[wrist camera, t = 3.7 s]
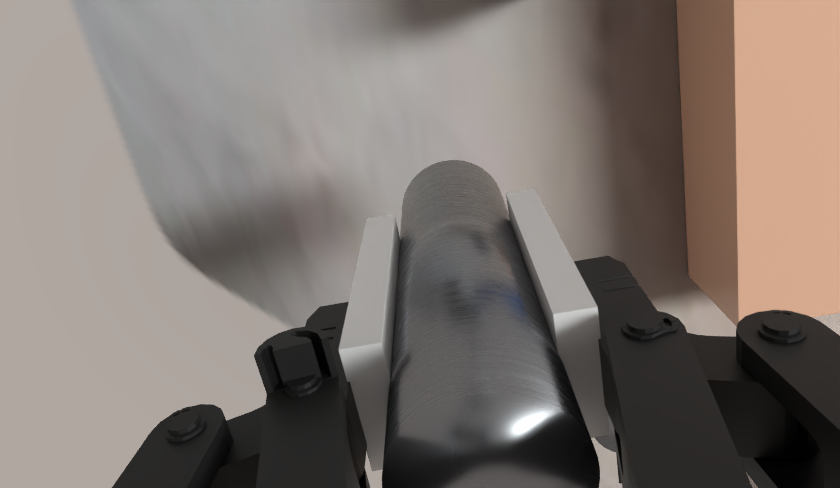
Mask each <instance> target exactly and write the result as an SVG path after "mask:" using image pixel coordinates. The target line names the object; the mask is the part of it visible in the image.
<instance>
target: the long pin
mask: <svg viewBox="0 0 840 488" xmlns="http://www.w3.org/2000/svg"><path fill="white" fill-rule="evenodd" d="M599 481H600V467H599V462H598V457H597V454H596V451H595V448H594V446H593V443H592V440H591V437H590V435H589V432H588V429H587V426H586V424H585V421H584V418H583V416H582V413H581V410H580V407H579V405H578V402H577V399H576V396H575V394H574V391H573V388H572V386H571V383H570V380H569V377H568V375H567V372H566V369H565V367H564V364H563V361H562V360H561V358H560V356H559V354H558V352H557V349H556V346H555V344H554V341H553V338H552V335H551V333H550V330H549V327H548V324H547V322H546V319H545V316H544V313H543V311H542V308H541V305H540V302H539V300H538V297H537V294H536V291H535V288H534V286H533V283H532V280H531V277H530V275H529V272H528V269H527V266H526V264H525V261H524V258H523V255H522V253H521V250H520V247H519V244H518V242H517V239H516V236H515V233H514V231H513V228H512V225H511V222H510V218H509V214H508V211H507V208H506V205H505V203H504V200H503V197H502V195H501V192H500V189H499V187H498V185H497V183H496V182H495V180H494V179H493V178H492V177H491V176H490V175H489V174H488V173H487V172H486V171H485V170H483V169H482V168H480V167H478V166H477V165H474V164H472V163H469V162H465V161H459V160H449V161H442V162H438V163H436V164H433V165H431V166H429V167H427V168H425V169H424V170H422V171H421V172H420V173H419V174H418V175H417V176H416V177H415V178H414V179H413V180H412V181H411V183H410V184H409V186H408V188H407V190H406V192H405V195H404V199H403V206H402V219H401V232H400V251H399V265H398V278H397V292H396V306H395V319H394V333H393V347H392V360H391V374H390V384H389V392H388V405H387V418H386V432H385V445H384V458H383V472H382V488H599Z"/></svg>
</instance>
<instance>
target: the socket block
mask: <svg viewBox="0 0 840 488" xmlns="http://www.w3.org/2000/svg"><path fill="white" fill-rule="evenodd" d="M676 5H677V28H678V50H679V72H680V94H681V117H682V139H683V161H684V183H685V206H686V228H687V250H688V272H689V277H690V278H691V279H692V280H693V281H694V282H695V283H696V284H697V285H698V286H699V287H700V288H701V289H702V290H703V292H704V293H705V294H706V295H707V296H708V297H709V298H710V299H711V300H712V301H713V302H714V303H715V304H716V305H717V306H718V307H719V309H720V310H721V311H722V312H723V313H724V314H725V315H726V316H727V317H728V318H729V319H730V320H731V321H732V322H733V323H734V324H735V326H736V327H737V324H738V322H739V321H740V320H742V319H743V318H744V317H745V316H747V315H750V314H753V313H756V312H761V311H770V310H780V311H783V310H787V311H793V312H796V313H800V314H804V315H808V316H810V317H816V316H822V315H828V314H834V313H840V0H676Z"/></svg>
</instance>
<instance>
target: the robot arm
mask: <svg viewBox="0 0 840 488" xmlns="http://www.w3.org/2000/svg"><path fill="white" fill-rule="evenodd" d="M506 197H507V204H508V211H509V218H510V222H511V225H512V228H513V231H514V233H515V236H516V239H517V242H518V244H519V247H520V250H521V253H522V255H523V258H524V261H525V264H526V266H527V269H528V272H529V275H530V277H531V280H532V283H533V286H534V288H535V291H536V294H537V297H538V300H539V302H540V305H541V308H542V311H543V313H544V316H545V319H546V322H547V324H548V327H549V330H550V333H551V335H552V338H553V341H554V344H555V346H556V349H557V352H558V354H559V356H560V358H561V360H562V361H563V364H564V367H565V369H566V372H567V375H568V377H569V380H570V383H571V386H572V388H573V391H574V394H575V396H576V399H577V402H578V405H579V407H580V410H581V413H582V416H583V418H584V421H585V424H586V426H587V429H588V432H589V435H590V437H591V438H593V437H600V436H606V435H610V429H609V419H608V414H609V417H610V419H611V421H612V424H613V426H614V433H615V443H616V454H617V465H618V476H619V483H622V486H623V488H752V486H751V484H750V481H749V479H748V476H747V474H748V475H749V476H750V477H751V479H752V480H753V481H754V483H755V484H756V485H757V486H758V488H840V336H839V335H838V334H836V333H835V332H834V331H832V330H831V329H830V328H828V327H827V326H825V325H824V324H823V323H821V322H820V321H818V320H816V319H814V318H812V317H810V316H808V315H804V314H800V313H796V312H793V311H787V310H783V311H780V310H770V311H761V312H756V313H753V314H750V315H747V316H745V317H744V318H743V319H742V320H740V321H739V322H738V324H737V329H736V337H725V336H703V335H695V334H690V333H687V331H686V329H685V326H684V325H683V324H682V323H681V321H680V320H679V319H678V318H676V317H674V316H672V315H670V314H668V313H664V312H659V311H657V310H656V308H655V307H654V306H653V304H652V303H651V301H650V300H649V299H648V297H647V296H646V294H645V293H644V291H643V290H642V289H641V287H640V286H638V283H637V281H636V280H635V279H634V277H632V274H631V273H630V271H629V270H628V269H627V267H626V266H625V264H623V263H621V262H619V261H617V260H615V259H613V258H611V257H609V256H604V257H598V258H592V259H587V260H581V261H575V262H574V261H573V259H572V258H571V256H570V254H569V252H568V250H567V248H566V246H565V244H564V243H563V241H562V239H561V237H560V235H559V233H558V231H557V229H556V228H555V226H554V224H553V222H552V220H551V218H550V216H549V214H548V213H547V211H546V209H545V207H544V205H543V203H542V201H541V199H540V198H539V196H538V194H537V192H536V190H535V188H533V189H527V190H522V191H516V192H511V193H506ZM399 251H400V236H399V232H398V227H397V223H396V218H395V214H389V215H383V216H377V217H372V218H367V219H366V224H365V229H364V233H363V238H362V243H361V247H360V252H359V257H358V261H357V266H356V271H355V275H354V280H353V285H352V289H351V294H350V298H349V302H345V303H340V304H334V305H328V306H322V307H319V308H318V309H317V310H316V311H315V312H314V313H313V314H312V315H311V316H310V317H309V318H308V319H307V322H306V326H305V327H301V328H294V329H290V330H287V331H284V332H281V333H278V334H277V335H275V336H273V337H271V338H269V339H267V340H266V341H265V342H264V343H263V344H262V345H260V346H259V347H258V349H257V351H256V353H255V355H254V357H255V360H256V363H257V366H258V369H259V372H260V375H261V378H262V380H263V384H264V387H265V390H266V393H267V399H266V405H264V406H262V407H261V408H258V409H256V410H254V411H252V412H249V413H246V414H244V415H241V416H238V417H235V418H233V419H230V420H227V421H226V419H225V417H224V414H223V412H222V410H221V408H218V407H217V406H215V405H204V404H201V405H197V406H192V407H186V408H183V409H182V410H178V411H176V412H174V413H173V414H171V415H170V416H169V417H167V418H166V419H164V420H163V421H161V422H160V423H159V424H158V425H157V426H156V427H155V428H154V429H153V430H152V432H151V433H150V434H149V435H148V437H147V438H146V440H145V441H144V443H143V444H142V446H141V447H140V448H139V450H138V451H137V453H136V454H135V456H134V457H133V458H132V460H131V461H130V463H129V464H128V466H127V467H126V468H125V470H124V472H123V473H122V474H121V476H120V477H119V478H118V480H117V481H116V483H115V484H114V486H113V487H112V488H370V485H369V482H368V478H367V475H366V471H365V468H364V467H365V459H366V451H367V454H368V458H369V461H370V465H371V468H372V471H376V470H382V469H383V458H384V445H385V432H386V418H387V405H388V392H389V384H390V374H391V360H392V347H393V333H394V319H395V306H396V292H397V278H398V265H399ZM745 471H746V472H747V474H746V472H745Z"/></svg>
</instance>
